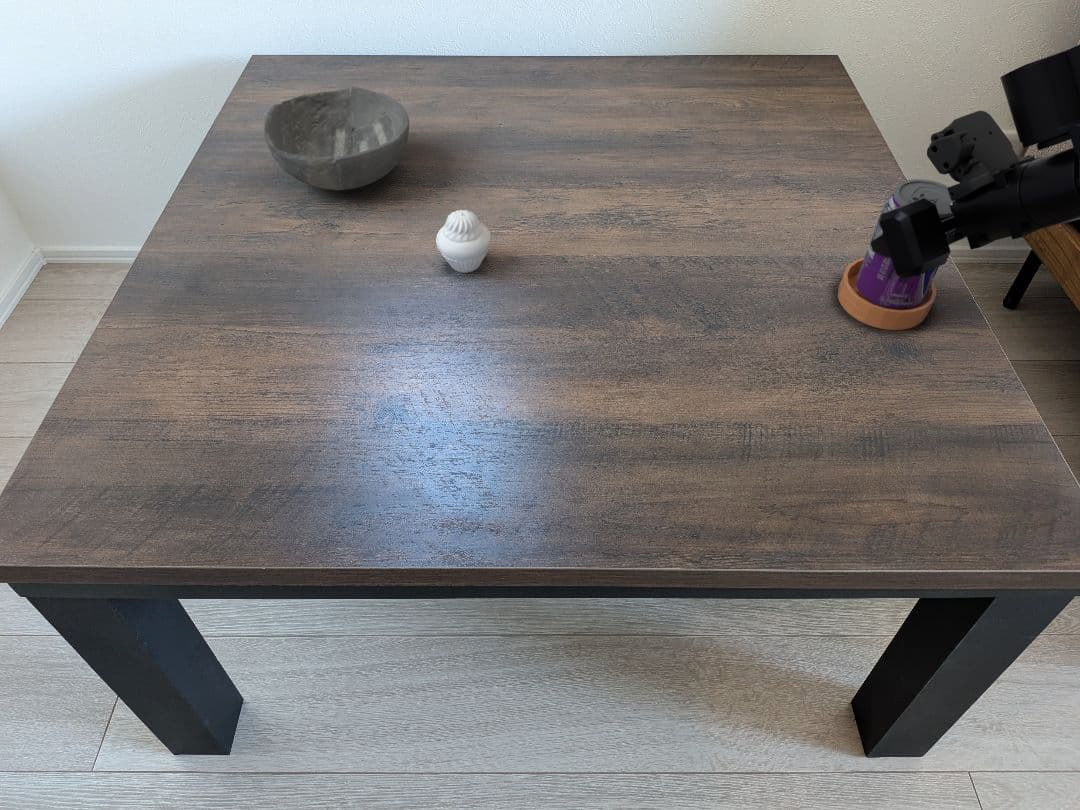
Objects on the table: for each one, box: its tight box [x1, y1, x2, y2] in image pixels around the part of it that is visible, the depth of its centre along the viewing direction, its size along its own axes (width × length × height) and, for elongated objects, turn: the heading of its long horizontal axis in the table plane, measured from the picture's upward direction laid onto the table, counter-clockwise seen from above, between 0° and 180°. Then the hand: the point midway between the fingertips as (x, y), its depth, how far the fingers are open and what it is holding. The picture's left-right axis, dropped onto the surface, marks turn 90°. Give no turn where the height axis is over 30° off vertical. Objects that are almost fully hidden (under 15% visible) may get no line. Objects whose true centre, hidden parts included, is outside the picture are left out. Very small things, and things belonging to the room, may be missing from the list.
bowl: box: [263, 86, 410, 191], centre depth 99 cm, size 18×18×8 cm
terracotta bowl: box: [837, 256, 937, 331], centre depth 85 cm, size 9×9×2 cm
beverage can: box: [856, 178, 956, 309], centre depth 80 cm, size 7×7×12 cm
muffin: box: [435, 209, 492, 274], centre depth 87 cm, size 6×6×7 cm
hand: (898, 235), depth 80 cm, fingers closed on beverage can, 7 cm apart
